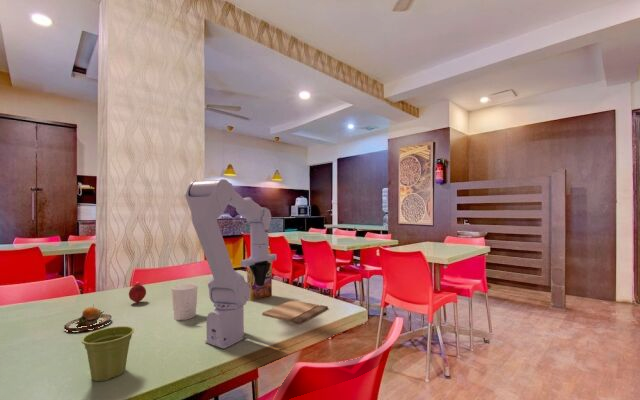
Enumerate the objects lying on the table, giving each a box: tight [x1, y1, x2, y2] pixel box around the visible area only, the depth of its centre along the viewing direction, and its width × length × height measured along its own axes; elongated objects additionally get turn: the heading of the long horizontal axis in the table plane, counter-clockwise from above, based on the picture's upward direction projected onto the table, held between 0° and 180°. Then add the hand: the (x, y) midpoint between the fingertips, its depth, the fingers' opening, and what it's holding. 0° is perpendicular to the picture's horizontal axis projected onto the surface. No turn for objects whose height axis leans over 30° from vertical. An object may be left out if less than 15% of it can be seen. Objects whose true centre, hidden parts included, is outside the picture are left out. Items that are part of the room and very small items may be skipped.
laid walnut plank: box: [291, 304, 329, 325], centre depth 98 cm, size 16×3×2 cm, turn 147°
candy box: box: [246, 260, 273, 302], centre depth 118 cm, size 9×4×15 cm, turn 123°
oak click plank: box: [261, 299, 320, 323], centre depth 102 cm, size 16×12×2 cm
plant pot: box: [81, 325, 135, 382], centre depth 66 cm, size 9×9×9 cm
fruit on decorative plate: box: [63, 305, 112, 332], centre depth 95 cm, size 12×12×8 cm
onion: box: [128, 281, 147, 303], centre depth 118 cm, size 6×6×8 cm
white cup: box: [171, 283, 198, 321], centre depth 101 cm, size 8×8×10 cm
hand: (260, 285), depth 99 cm, fingers closed
